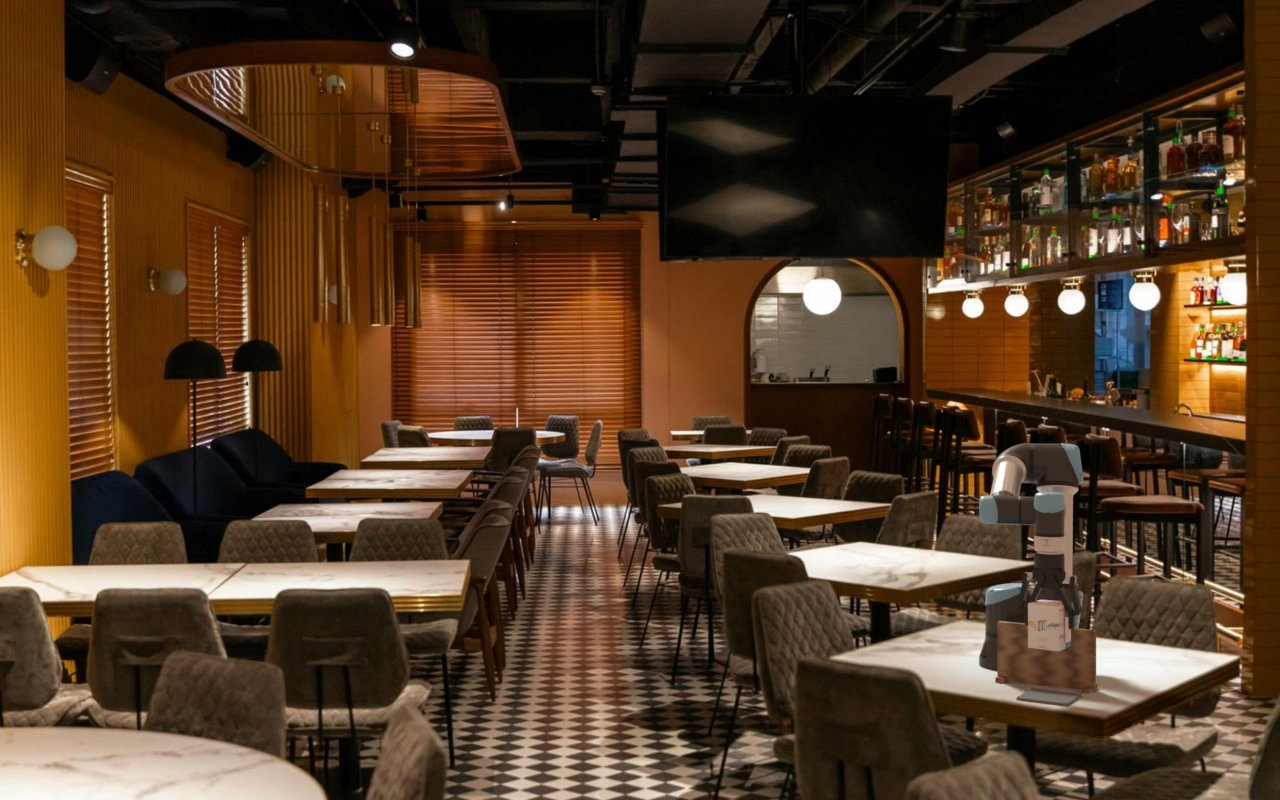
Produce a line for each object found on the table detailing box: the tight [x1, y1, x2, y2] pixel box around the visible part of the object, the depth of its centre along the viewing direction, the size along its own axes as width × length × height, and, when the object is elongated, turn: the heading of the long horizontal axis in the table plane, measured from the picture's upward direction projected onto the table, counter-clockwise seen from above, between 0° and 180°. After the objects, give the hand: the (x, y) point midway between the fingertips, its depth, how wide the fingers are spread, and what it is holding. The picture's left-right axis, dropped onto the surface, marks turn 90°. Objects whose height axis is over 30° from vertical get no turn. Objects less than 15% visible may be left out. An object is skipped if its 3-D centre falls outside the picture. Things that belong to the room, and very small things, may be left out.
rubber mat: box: [1016, 687, 1083, 707], centre depth 356 cm, size 13×13×1 cm
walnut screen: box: [995, 621, 1099, 694], centre depth 370 cm, size 26×7×16 cm, turn 57°
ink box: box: [1028, 600, 1071, 651], centre depth 355 cm, size 9×8×12 cm
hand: (1049, 639), depth 355 cm, fingers closed on ink box, 9 cm apart
